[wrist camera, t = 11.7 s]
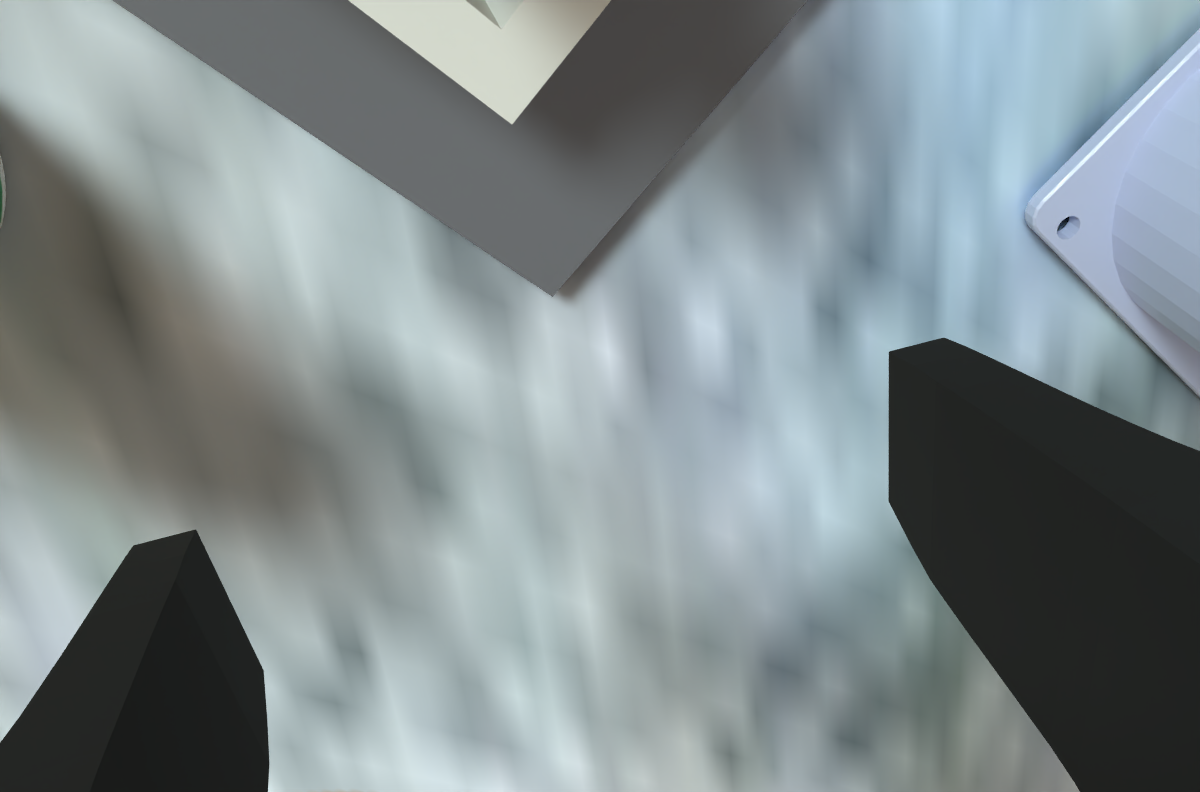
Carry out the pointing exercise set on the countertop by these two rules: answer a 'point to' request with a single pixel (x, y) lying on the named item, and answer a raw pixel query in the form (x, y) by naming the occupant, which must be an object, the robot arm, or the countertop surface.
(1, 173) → the supplement bottle
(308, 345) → the countertop surface
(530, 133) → the peg socket
